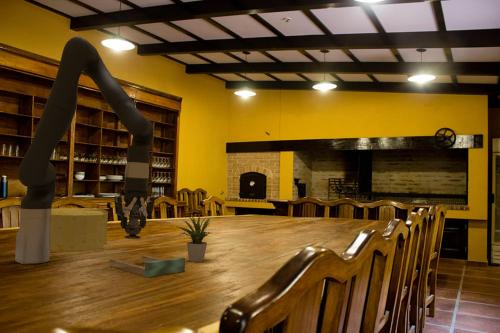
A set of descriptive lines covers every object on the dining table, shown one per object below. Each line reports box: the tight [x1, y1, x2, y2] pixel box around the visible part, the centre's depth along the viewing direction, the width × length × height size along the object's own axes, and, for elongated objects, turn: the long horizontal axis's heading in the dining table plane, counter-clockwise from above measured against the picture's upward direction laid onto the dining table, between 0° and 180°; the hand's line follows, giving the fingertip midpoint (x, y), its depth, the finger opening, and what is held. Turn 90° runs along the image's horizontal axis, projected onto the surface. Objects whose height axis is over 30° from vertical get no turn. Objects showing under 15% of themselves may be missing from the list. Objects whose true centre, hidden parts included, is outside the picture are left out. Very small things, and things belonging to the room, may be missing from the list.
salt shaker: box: [123, 205, 144, 240], centre depth 138 cm, size 6×6×12 cm
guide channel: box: [109, 254, 186, 278], centre depth 132 cm, size 13×22×4 cm, turn 47°
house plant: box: [176, 214, 212, 263], centre depth 149 cm, size 14×14×16 cm
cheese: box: [50, 207, 109, 253], centre depth 171 cm, size 26×26×15 cm
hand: (133, 228), depth 137 cm, fingers closed on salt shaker, 6 cm apart
